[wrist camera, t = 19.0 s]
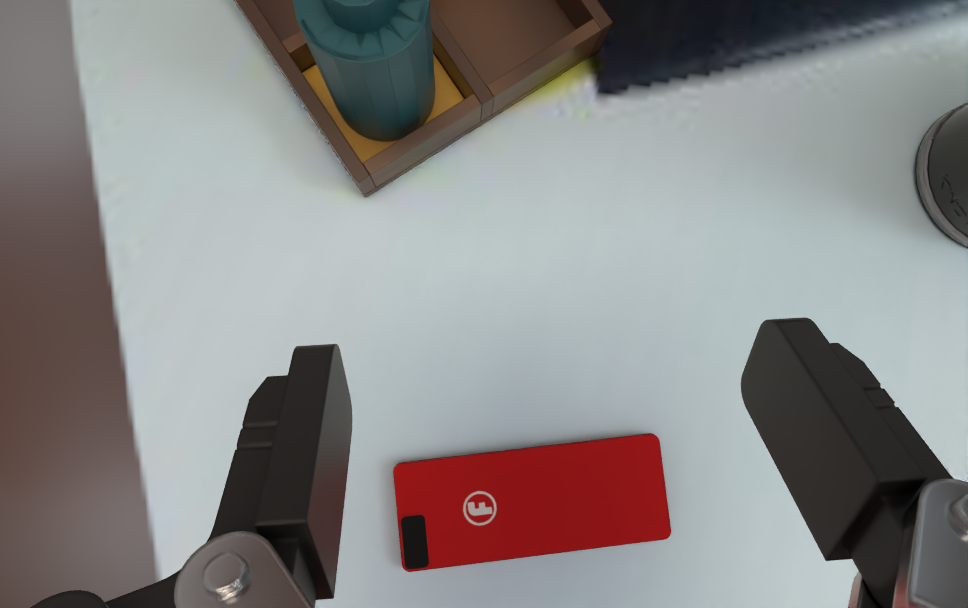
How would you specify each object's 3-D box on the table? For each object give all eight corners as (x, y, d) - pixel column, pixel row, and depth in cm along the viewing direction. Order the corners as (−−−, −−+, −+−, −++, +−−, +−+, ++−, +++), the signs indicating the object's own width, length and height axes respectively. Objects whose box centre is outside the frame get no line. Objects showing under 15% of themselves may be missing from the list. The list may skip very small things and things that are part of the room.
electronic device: (655, 432, 35) (393, 463, 35) (659, 433, 35) (392, 464, 34) (669, 536, 35) (403, 570, 34) (672, 539, 34) (402, 573, 34)
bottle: (400, 29, 36) (375, -125, 25) (453, 108, 36) (454, -10, 25) (316, 79, 36) (252, -54, 24) (370, 160, 35) (331, 64, 24)
